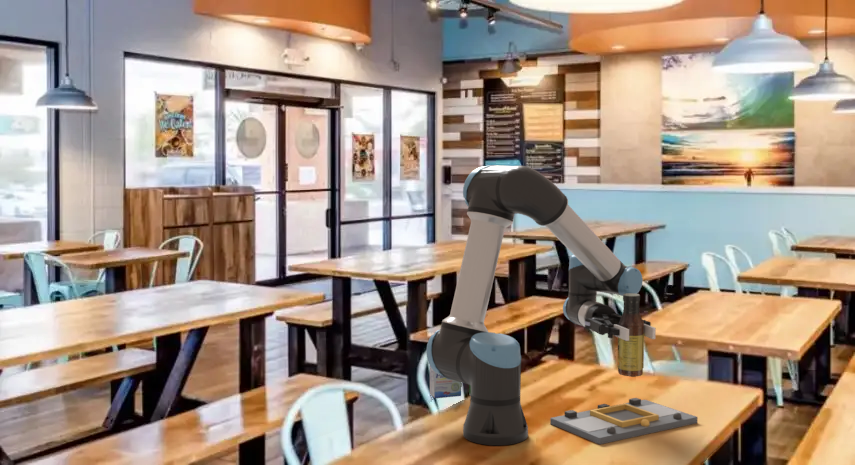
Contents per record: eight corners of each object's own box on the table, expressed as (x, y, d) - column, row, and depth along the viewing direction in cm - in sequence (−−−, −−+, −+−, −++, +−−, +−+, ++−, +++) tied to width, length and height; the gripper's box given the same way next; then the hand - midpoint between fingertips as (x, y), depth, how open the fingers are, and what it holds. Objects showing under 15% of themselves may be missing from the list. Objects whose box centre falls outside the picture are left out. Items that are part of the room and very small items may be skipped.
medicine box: (433, 398, 239) (433, 367, 238) (429, 394, 243) (429, 363, 243) (461, 396, 241) (461, 365, 240) (456, 392, 245) (456, 361, 245)
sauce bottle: (624, 370, 220) (626, 291, 219) (647, 374, 216) (650, 293, 215) (612, 375, 215) (614, 294, 213) (635, 379, 211) (638, 296, 210)
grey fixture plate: (599, 444, 200) (599, 431, 200) (550, 423, 216) (550, 412, 216) (697, 422, 216) (697, 411, 215) (644, 405, 231) (645, 394, 231)
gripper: (630, 329, 235) (676, 347, 213) (563, 333, 230) (603, 352, 208) (631, 301, 234) (677, 316, 212) (564, 304, 229) (604, 320, 207)
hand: (640, 334), depth 210 cm, fingers closed on sauce bottle, 6 cm apart
